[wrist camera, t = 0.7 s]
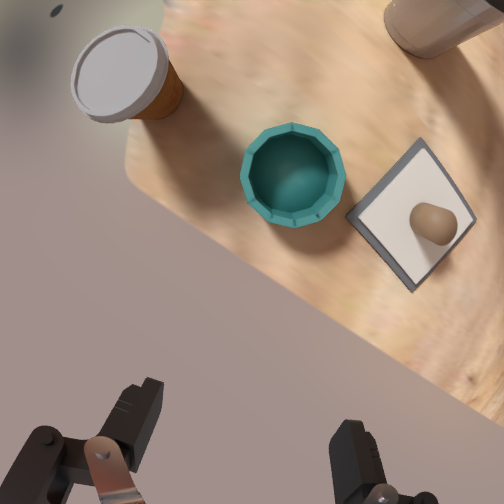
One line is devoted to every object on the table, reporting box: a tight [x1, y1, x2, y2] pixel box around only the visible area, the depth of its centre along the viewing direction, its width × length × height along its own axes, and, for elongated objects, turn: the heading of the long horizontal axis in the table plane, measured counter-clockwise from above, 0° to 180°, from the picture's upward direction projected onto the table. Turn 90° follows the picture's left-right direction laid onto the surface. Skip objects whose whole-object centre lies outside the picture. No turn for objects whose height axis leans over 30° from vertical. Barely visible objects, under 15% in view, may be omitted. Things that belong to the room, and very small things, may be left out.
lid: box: [358, 149, 473, 284], centre depth 30 cm, size 12×12×6 cm
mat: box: [345, 137, 477, 292], centre depth 33 cm, size 14×14×1 cm
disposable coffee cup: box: [71, 25, 183, 123], centre depth 25 cm, size 10×10×12 cm
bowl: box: [240, 122, 346, 228], centre depth 31 cm, size 10×10×5 cm
